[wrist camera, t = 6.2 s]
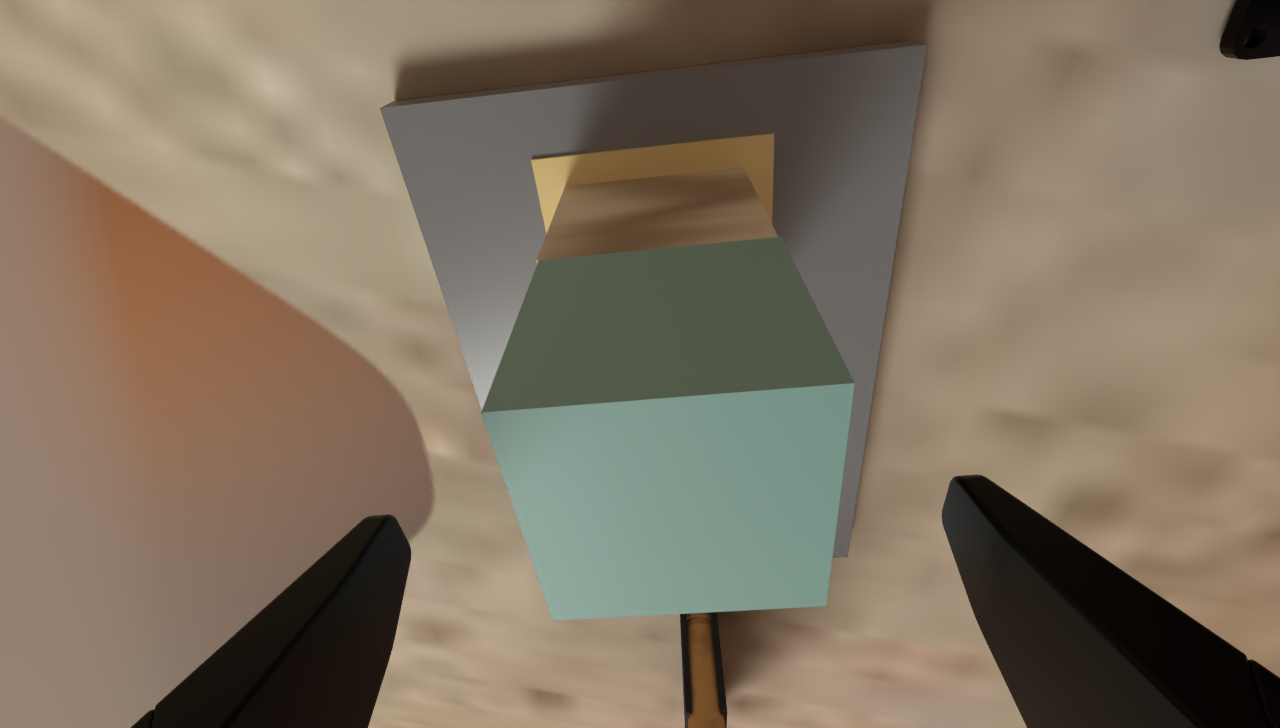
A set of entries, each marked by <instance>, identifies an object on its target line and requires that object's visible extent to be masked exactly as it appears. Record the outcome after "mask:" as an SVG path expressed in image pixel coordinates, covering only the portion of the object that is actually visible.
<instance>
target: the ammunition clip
mask: <svg viewBox="0 0 1280 728" xmlns="http://www.w3.org/2000/svg"><path fill="white" fill-rule="evenodd" d="M680 623H681V646H682V670H683V694H684V716H685V728H726V725H727V706H726V696H725V687H724V677H723V668H722V658H721V649H720V639H719V630H718V620H717V612H708V613H689V614H680Z"/></svg>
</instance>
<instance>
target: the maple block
mask: <svg viewBox="0 0 1280 728" xmlns="http://www.w3.org/2000/svg"><path fill="white" fill-rule="evenodd" d="M772 237H778V235H777V233H776V231H775V229H774V227H773V225H772V223H771V221H770V219H769V217H768V215H767V213H766V211H765V209H764V207H763V205H762V203H761V201H760V199H759V197H758V195H757V193H756V191H755V189H754V187H753V185H752V183H751V180H750V178H749V176H748V174H747V172H746V170H745V168H736V169H727V170H717V171H707V172H698V173H688V174H678V175H669V176H659V177H650V178H640V179H630V180H621V181H611V182H602V183H592V184H582V185H573V186H565V188H564V190H563V193H562V195H561V198H560V200H559V203H558V206H557V208H556V211H555V213H554V216H553V219H552V221H551V224H550V226H549V229H548V231H547V234H546V237H545V239H544V242H543V244H542V247H541V250H540V252H539V255H538V257H537V260H536V261H537V264H538V261H539V260H547V259H558V258H568V257H578V256H588V255H598V254H609V253H619V252H629V251H639V250H649V249H660V248H670V247H680V246H690V245H701V244H711V243H721V242H731V241H741V240H752V239H762V238H772Z"/></svg>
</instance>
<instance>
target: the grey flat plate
mask: <svg viewBox="0 0 1280 728" xmlns="http://www.w3.org/2000/svg"><path fill="white" fill-rule="evenodd" d="M926 49H927V44H924V43H920V42H916V41H912V40H911V41H903V42H894V43H886V44H877V45H869V46H860V47H852V48H843V49H834V50H826V51H817V52H809V53H800V54H792V55H783V56H775V57H766V58H758V59H749V60H741V61H732V62H723V63H715V64H706V65H698V66H689V67H681V68H672V69H664V70H655V71H647V72H638V73H629V74H621V75H612V76H604V77H595V78H587V79H578V80H570V81H561V82H553V83H544V84H535V85H527V86H518V87H510V88H501V89H493V90H484V91H476V92H467V93H459V94H450V95H441V96H433V97H424V98H416V99H407V100H399V101H393V102H391V103H389V104H387V105H385V106H383V107H381V108H380V110H381V113H382V116H383V119H384V122H385V125H386V128H387V131H388V133H389V136H390V139H391V142H392V145H393V148H394V151H395V154H396V157H397V160H398V163H399V166H400V169H401V172H402V175H403V178H404V181H405V184H406V187H407V190H408V193H409V196H410V199H411V202H412V205H413V208H414V211H415V214H416V216H417V219H418V222H419V225H420V228H421V231H422V234H423V237H424V240H425V243H426V246H427V249H428V252H429V255H430V258H431V261H432V264H433V267H434V270H435V273H436V276H437V279H438V282H439V285H440V288H441V291H442V294H443V297H444V299H445V302H446V305H447V308H448V311H449V314H450V317H451V320H452V323H453V326H454V329H455V332H456V335H457V338H458V341H459V344H460V347H461V350H462V353H463V356H464V359H465V362H466V365H467V368H468V371H469V374H470V377H471V380H472V382H473V385H474V388H475V391H476V394H477V397H478V400H479V403H480V406H481V409H483V406H484V404H485V401H486V398H487V396H488V393H489V390H490V388H491V385H492V383H493V380H494V377H495V375H496V372H497V369H498V367H499V364H500V361H501V359H502V356H503V353H504V351H505V348H506V346H507V343H508V340H509V338H510V335H511V332H512V330H513V327H514V324H515V322H516V319H517V316H518V314H519V311H520V309H521V306H522V303H523V301H524V298H525V295H526V293H527V290H528V287H529V285H530V282H531V279H532V277H533V274H534V272H535V269H536V266H537V261H536V260H537V257H538V255H539V252H540V250H541V247H542V244H543V242H544V239H545V237H546V234H547V231H548V229H549V226H550V224H551V221H552V219H553V216H554V213H555V211H556V208H557V206H558V203H559V200H560V198H561V195H562V193H563V190H564V188H565V186H573V185H582V184H592V183H602V182H611V181H621V180H630V179H640V178H650V177H659V176H669V175H678V174H688V173H698V172H707V171H717V170H727V169H736V168H745V170H746V172H747V174H748V176H749V178H750V180H751V183H752V185H753V187H754V189H755V191H756V193H757V195H758V197H759V199H760V201H761V203H762V205H763V207H764V209H765V211H766V213H767V215H768V217H769V219H770V221H771V223H772V225H773V227H774V229H775V231H776V233H777V235H778V237H781V238H782V240H783V242H784V244H785V246H786V248H787V250H788V252H789V254H790V255H791V257H792V259H793V261H794V263H795V265H796V267H797V269H798V271H799V273H800V275H801V277H802V279H803V281H804V283H805V285H806V287H807V289H808V291H809V293H810V295H811V297H812V299H813V301H814V303H815V305H816V307H817V309H818V311H819V313H820V315H821V317H822V319H823V321H824V323H825V325H826V327H827V329H828V331H829V333H830V335H831V337H832V339H833V341H834V343H835V345H836V347H837V349H838V351H839V353H840V355H841V357H842V359H843V361H844V363H845V365H846V367H847V369H848V371H849V373H850V375H851V377H852V379H853V381H854V383H855V384H854V392H853V400H852V408H851V416H850V424H849V431H848V439H847V447H846V455H845V463H844V471H843V478H842V486H841V494H840V502H839V510H838V518H837V525H836V533H835V541H834V549H833V557H832V558H836V557H848V551H849V545H850V538H851V532H852V525H853V519H854V512H855V506H856V500H857V493H858V487H859V480H860V474H861V467H862V461H863V455H864V448H865V442H866V435H867V429H868V422H869V416H870V410H871V403H872V397H873V390H874V384H875V377H876V371H877V365H878V358H879V352H880V345H881V339H882V332H883V326H884V320H885V313H886V307H887V300H888V294H889V287H890V281H891V274H892V268H893V262H894V255H895V249H896V242H897V236H898V229H899V223H900V217H901V210H902V204H903V197H904V191H905V184H906V178H907V172H908V165H909V159H910V152H911V146H912V139H913V133H914V127H915V120H916V114H917V107H918V101H919V94H920V88H921V82H922V75H923V69H924V62H925V56H926Z"/></svg>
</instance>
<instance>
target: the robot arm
mask: <svg viewBox="0 0 1280 728" xmlns="http://www.w3.org/2000/svg"><path fill="white" fill-rule="evenodd" d="M1252 29H1254V32H1253V35H1252V37H1251V38H1250V40H1249V41H1248V42H1247V43H1245V44H1244V40H1245V38H1246V36H1247V34H1248V33H1249V32H1250V31H1251V30H1252ZM1219 47H1220V51H1221V53H1222V54H1223V55H1224V56H1225V57H1229V58H1236V59H1244V60H1248V59H1257V58H1266V57H1275V56H1280V0H1237V1H1236V3H1235V6H1234V8H1233V11H1232V13H1231V16H1230V18H1229V21H1228V23H1227V25H1226V28H1225V30H1224V33H1223V35H1222V38H1221V42H1220V46H1219ZM942 522H943V526H944V530H945V532H946V535H947V538H948V541H949V544H950V547H951V550H952V553H953V555H954V558H955V561H956V564H957V567H958V570H959V573H960V576H961V578H962V581H963V584H964V587H965V590H966V593H967V596H968V598H969V601H970V604H971V607H972V609H973V612H974V615H975V617H976V620H977V622H978V624H979V627H980V629H981V631H982V633H983V636H984V638H985V640H986V642H987V644H988V646H989V648H990V650H991V653H992V655H993V657H994V659H995V661H996V663H997V665H998V667H999V669H1000V671H1001V674H1002V676H1003V678H1004V680H1005V682H1006V684H1007V686H1008V688H1009V690H1010V693H1011V695H1012V697H1013V699H1014V701H1015V703H1016V705H1017V707H1018V709H1019V712H1020V714H1021V716H1022V718H1023V720H1024V722H1025V724H1026V726H1027V728H1280V678H1279V677H1278V676H1277V675H1275V674H1274V673H1272V672H1271V671H1269V670H1268V669H1266V668H1265V667H1263V666H1262V665H1260V664H1259V663H1257V662H1256V661H1254V660H1248V659H1247V657H1246V655H1245V654H1244V653H1242V652H1241V651H1240V650H1238V649H1237V648H1235V647H1234V646H1232V645H1231V644H1229V643H1228V642H1226V641H1225V640H1223V639H1222V638H1221V637H1219V636H1218V635H1216V634H1215V633H1213V632H1212V631H1210V630H1209V629H1207V628H1206V627H1204V626H1203V625H1202V624H1200V623H1199V622H1197V621H1196V620H1194V619H1193V618H1191V617H1190V616H1188V615H1187V614H1185V613H1184V612H1182V611H1181V610H1180V609H1178V608H1177V607H1175V606H1174V605H1172V604H1171V603H1169V602H1168V601H1166V600H1165V599H1163V598H1162V597H1161V596H1159V595H1158V594H1156V593H1155V592H1153V591H1152V590H1150V589H1149V588H1147V587H1146V586H1144V585H1143V584H1142V583H1140V582H1139V581H1137V580H1136V579H1134V578H1133V577H1131V576H1130V575H1128V574H1127V573H1125V572H1124V571H1122V570H1121V569H1120V568H1118V567H1117V566H1115V565H1114V564H1112V563H1111V562H1109V561H1108V560H1106V559H1105V558H1103V557H1102V556H1101V555H1099V554H1098V553H1096V552H1095V551H1093V550H1092V549H1090V548H1089V547H1087V546H1086V545H1084V544H1083V543H1082V542H1080V541H1079V540H1077V539H1076V538H1074V537H1073V536H1071V535H1070V534H1068V533H1067V532H1065V531H1064V530H1063V529H1061V528H1060V527H1058V526H1057V525H1055V524H1054V523H1052V522H1051V521H1049V520H1048V519H1046V518H1045V517H1043V516H1042V515H1041V514H1039V513H1038V512H1036V511H1035V510H1033V509H1032V508H1030V507H1029V506H1027V505H1026V504H1024V503H1023V502H1022V501H1020V500H1019V499H1017V498H1016V497H1014V496H1013V495H1011V494H1010V493H1008V492H1007V491H1005V490H1004V489H1003V488H1001V487H1000V486H998V485H997V484H995V483H994V482H992V481H991V480H989V479H988V478H986V477H984V476H982V475H964V476H956V477H954V478H953V479H952V480H951V482H950V484H949V488H948V492H947V495H946V499H945V502H944V506H943V509H942ZM410 561H411V548H410V545H409V542H408V540H407V538H406V537H405V535H404V533H403V531H402V529H401V527H400V525H399V523H398V521H397V519H396V518H395V517H394V516H393V515H389V514H387V515H373V516H368V517H366V518H365V519H363V520H362V521H361V522H360V523H359V524H357V525H356V526H355V527H354V528H353V529H352V530H351V531H350V532H349V533H348V534H346V536H344V537H343V538H342V539H341V540H340V541H338V542H337V543H336V544H335V545H334V546H333V547H332V548H331V549H330V550H328V551H327V553H325V554H324V555H323V556H322V557H321V558H320V559H318V560H317V561H316V562H315V563H314V564H313V565H312V566H311V567H309V568H308V569H307V570H306V571H305V572H304V573H303V574H302V575H301V576H299V577H298V578H297V579H296V580H295V581H294V582H293V583H292V584H291V585H289V587H287V588H286V589H285V590H284V591H283V592H282V593H280V594H279V595H278V596H277V597H276V598H275V599H274V600H273V601H272V602H270V603H269V604H268V605H267V606H266V607H265V608H264V609H263V610H261V611H260V612H259V613H258V614H257V615H256V616H255V617H254V618H253V619H251V620H250V621H249V622H248V623H247V624H246V625H245V626H244V627H243V628H241V629H240V630H239V631H238V632H237V633H236V634H235V635H234V636H233V637H231V638H230V639H229V640H228V641H227V642H226V643H225V644H224V645H223V646H221V647H220V648H219V649H218V650H217V651H216V652H215V653H214V654H213V655H211V656H210V657H209V658H208V659H207V660H206V661H205V662H204V663H202V664H201V665H200V666H199V667H198V668H197V669H196V670H195V671H193V672H192V673H191V674H190V675H189V676H188V677H187V678H186V679H185V680H184V681H182V682H181V683H180V684H179V685H178V686H177V687H176V688H174V689H173V690H172V691H171V692H170V693H169V694H168V695H167V696H166V697H164V698H163V699H162V700H161V701H160V702H159V703H158V704H157V705H156V707H155V710H150V711H149V712H148V713H146V714H145V715H144V716H143V717H142V718H141V719H140V720H139V721H137V723H135V724H134V725H133V726H132V727H131V728H368V725H369V722H370V719H371V716H372V713H373V709H374V706H375V703H376V700H377V697H378V694H379V690H380V687H381V684H382V681H383V678H384V675H385V671H386V668H387V665H388V662H389V658H390V655H391V651H392V647H393V643H394V639H395V635H396V630H397V625H398V620H399V615H400V610H401V605H402V600H403V596H404V591H405V586H406V581H407V576H408V571H409V566H410Z"/></svg>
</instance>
